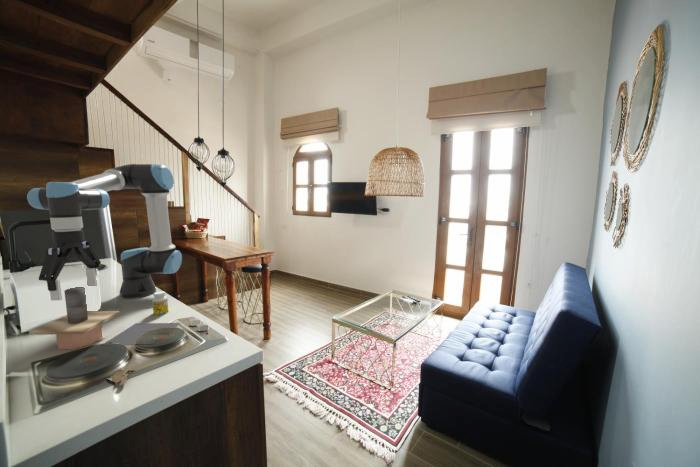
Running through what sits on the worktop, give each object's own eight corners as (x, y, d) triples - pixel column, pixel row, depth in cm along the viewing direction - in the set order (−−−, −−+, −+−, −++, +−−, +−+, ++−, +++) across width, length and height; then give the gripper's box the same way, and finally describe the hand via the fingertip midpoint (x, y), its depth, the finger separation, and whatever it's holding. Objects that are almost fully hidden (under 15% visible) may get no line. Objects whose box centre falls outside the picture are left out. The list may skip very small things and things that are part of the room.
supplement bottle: (171, 312, 128) (169, 290, 127) (162, 317, 123) (161, 295, 122) (159, 311, 128) (157, 290, 127) (150, 316, 123) (148, 294, 122)
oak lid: (74, 314, 108) (71, 282, 106) (120, 313, 109) (117, 282, 107) (29, 334, 92) (24, 297, 91) (82, 334, 93) (78, 297, 91)
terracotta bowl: (78, 335, 107) (75, 316, 106) (109, 335, 107) (108, 316, 106) (48, 351, 96) (45, 331, 95) (83, 351, 96) (81, 330, 95)
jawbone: (94, 389, 79) (92, 382, 79) (157, 351, 99) (156, 345, 99) (122, 391, 77) (121, 384, 77) (180, 352, 97) (179, 346, 97)
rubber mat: (135, 325, 115) (135, 323, 115) (180, 324, 116) (180, 323, 116) (101, 347, 98) (100, 345, 98) (153, 347, 99) (153, 344, 99)
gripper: (88, 225, 108) (94, 281, 111) (14, 235, 84) (25, 307, 87) (109, 225, 109) (115, 281, 112) (41, 235, 84) (51, 306, 87)
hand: (75, 292), depth 99 cm, fingers open, 13 cm apart
